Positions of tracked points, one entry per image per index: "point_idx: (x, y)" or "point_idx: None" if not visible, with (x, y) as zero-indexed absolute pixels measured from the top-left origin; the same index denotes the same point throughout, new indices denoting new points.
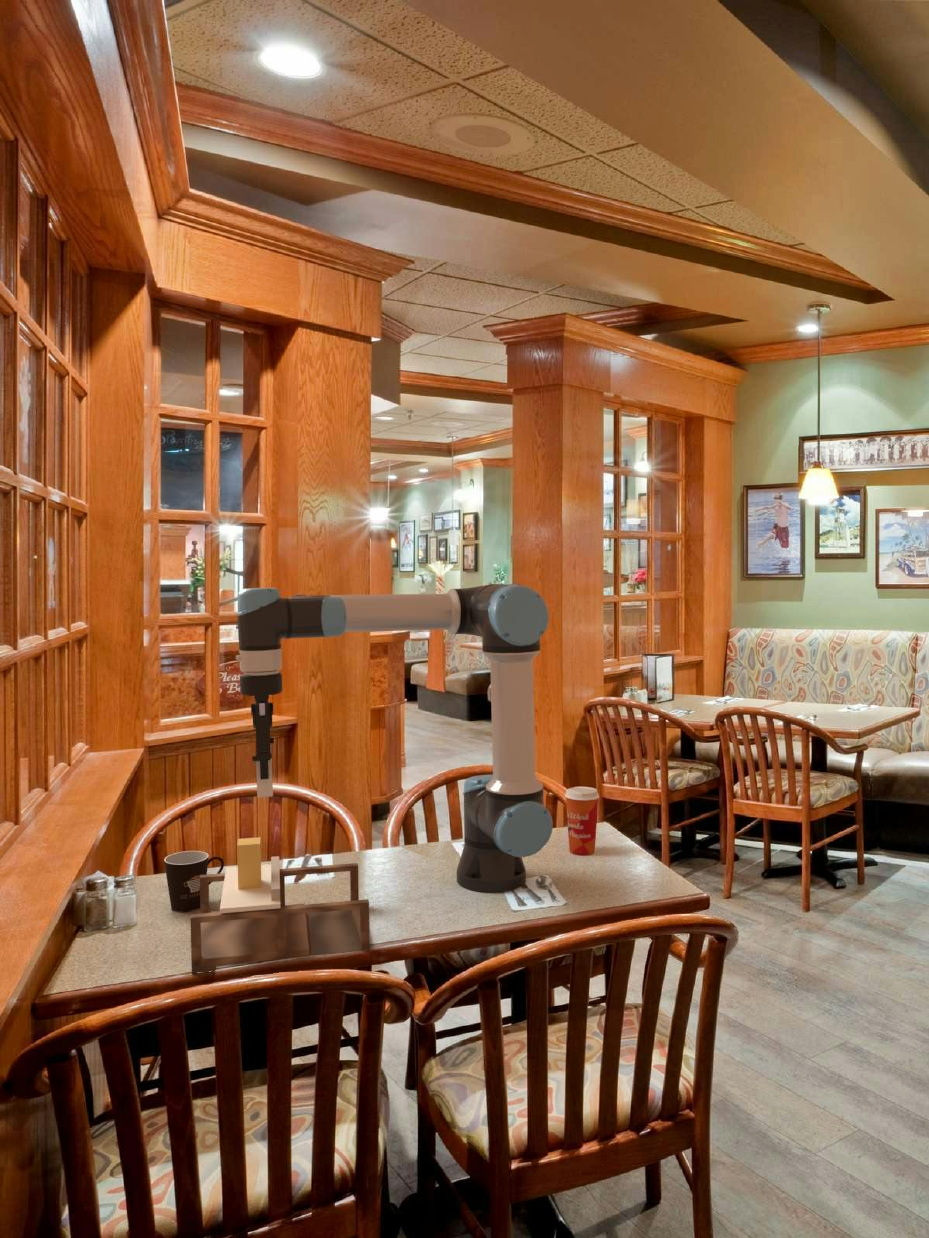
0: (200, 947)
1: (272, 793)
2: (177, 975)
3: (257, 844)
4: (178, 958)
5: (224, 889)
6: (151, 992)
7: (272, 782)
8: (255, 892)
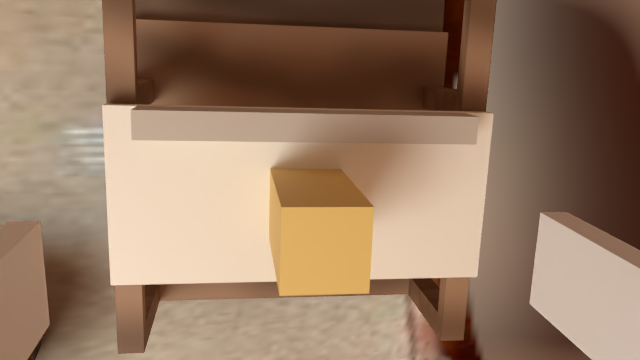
0: (435, 285)
1: (574, 219)
2: (413, 307)
3: (371, 216)
4: (331, 315)
5: None
6: (472, 343)
7: (622, 242)
8: (380, 185)
